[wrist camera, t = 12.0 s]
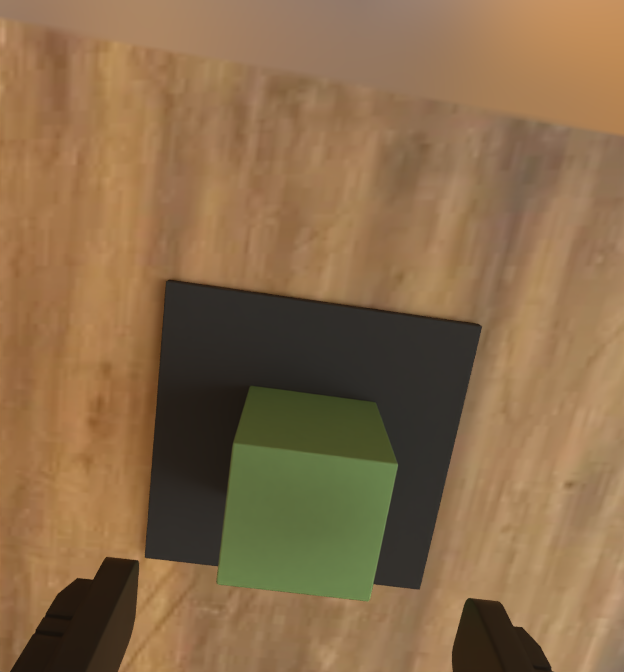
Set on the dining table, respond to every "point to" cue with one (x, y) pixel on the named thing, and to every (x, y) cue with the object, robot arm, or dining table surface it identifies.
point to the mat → (307, 377)
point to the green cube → (306, 495)
